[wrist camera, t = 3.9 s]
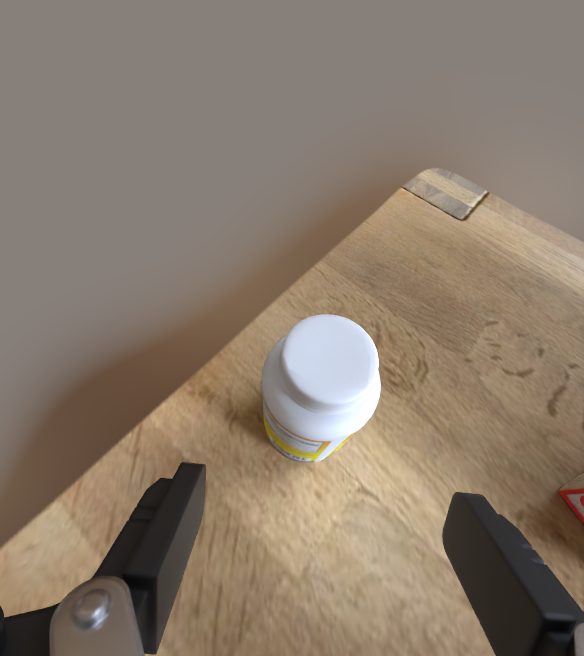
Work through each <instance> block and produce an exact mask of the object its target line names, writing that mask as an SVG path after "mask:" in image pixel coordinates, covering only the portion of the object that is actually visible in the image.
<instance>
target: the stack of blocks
mask: <svg viewBox="0 0 584 656" xmlns="http://www.w3.org/2000/svg"><path fill="white" fill-rule="evenodd" d="M559 493H560V494H561V495H562V497H563V498H564V499H565V501H566V502H567V503H568V505H569V506H570V507H571V509H572V510H573V511H574V512H575V514H576V515H577V516H578V518H579V519H580V520H581V522H582V523H583V524H584V472H583V473H582V474H580V475H579V476H577V477H576V478H574V479H573V480H571V481H570V482H568V483H567V484H565V485H564V486H563V487H561V488H560V489H559Z"/></svg>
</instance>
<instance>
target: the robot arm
mask: <svg viewBox="0 0 584 656" xmlns="http://www.w3.org/2000/svg"><path fill="white" fill-rule="evenodd" d="M205 481H206V465H205V464H196V463H187V462H182V463H181V464H180V465H179V467H178V469H177V471H176V473H175V475H174V477H173V479H167V478H160V479H159V480H158V481H156V482H155V483H154V484H153V485H151V486H150V487H149V488H148V489H147V490H146V491H145V493H144V494H143V496H142V498H141V499H140V501H139V503H138V504H137V507H136V508H135V509H134V511H133V512H132V514H131V516H130V518H129V521H127V522H126V524H125V526H124V527H123V529H122V531H121V532H120V534H119V535H118V537H117V539H116V540H115V542H114V544H113V545H112V547H111V549H110V550H109V552H108V553H107V555H106V557H105V558H104V560H103V562H102V563H101V565H100V567H99V568H98V570H97V572H96V573H95V574H94V576H93V577H92V578H91V579H90V580H88V581H86V582H84V583H82V584H81V585H79V586H78V587H76V588H75V589H74V590H72V591H71V592H70V593H69V594H68V595H67V596H66V597H65V598H64V599H63V600H62V602H60V603H58V604H56V605H53V606H50V607H47V608H43V609H39V610H35V611H31V612H26V613H22V614H18V615H14V616H9V617H5V618H4V613H3V610H2V608H1V606H0V656H145V654H155V655H156V653H157V650H158V647H159V645H160V642H161V639H162V636H163V633H164V630H165V627H166V624H167V621H168V618H169V615H170V612H171V609H172V606H173V603H174V600H175V598H176V595H177V592H178V589H179V586H180V583H181V580H182V577H183V574H184V571H185V568H186V565H187V562H188V559H189V556H190V554H191V551H192V548H193V545H194V542H195V539H196V536H197V533H198V530H199V527H200V524H201V520H202V515H203V510H204V499H205ZM442 537H443V545H444V549H445V552H446V554H447V556H448V558H449V560H450V562H451V564H452V566H453V568H454V571H455V573H456V575H457V577H458V579H459V581H460V583H461V585H462V587H463V589H464V591H465V593H466V595H467V597H468V599H469V601H470V603H471V605H472V608H473V610H474V612H475V614H476V616H477V618H478V620H479V622H480V624H481V626H482V628H483V630H484V632H485V634H486V636H487V638H488V640H489V642H490V645H491V647H492V649H493V651H494V653H495V655H496V656H584V612H583V611H582V610H581V608H580V607H579V606H578V604H577V603H576V602H575V601H574V599H573V598H572V597H571V596H570V594H569V593H568V592H567V590H566V589H565V588H564V587H563V585H562V584H561V583H560V581H559V580H558V579H557V578H556V576H555V575H554V574H553V573H552V571H551V570H550V569H549V567H548V566H547V565H544V562H543V560H542V558H541V557H540V556H539V555H538V553H537V552H536V551H535V550H533V549H532V546H531V544H530V543H529V542H528V541H527V539H526V538H525V537H524V535H523V534H522V533H521V532H520V530H519V529H518V528H516V527H515V526H514V525H513V524H512V523H511V522H509V521H508V520H507V519H506V518H505V517H503V516H502V515H501V514H497V513H496V511H495V510H494V509H493V507H492V506H491V505H490V503H489V502H488V501H487V499H486V498H485V497H484V496H483V495H480V494H472V493H462V492H456V493H454V495H453V497H452V500H451V504H450V507H449V510H448V514H447V517H446V521H445V524H444V528H443V535H442Z"/></svg>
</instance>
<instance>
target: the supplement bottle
mask: <svg viewBox="0 0 584 656" xmlns="http://www.w3.org/2000/svg"><path fill="white" fill-rule="evenodd" d="M378 365H379V361H378V353H377V350H376V347H375V345H374V343H373V341H372V339H371V338H370V336H369V335H368V334H367V333H366V332H365V330H364V329H363V328H361V327H360V326H359V325H358V324H356V323H355V322H353V321H351V320H349V319H347V318H344V317H341V316H338V315H332V314H320V315H314V316H310V317H308V318H305V319H303V320H301V321H300V322H298V323H297V324H296V325H295V326H294V327H293V328H291V330H290V331H289V332H288V334H286V335H285V336H283V337H282V338H281V339H280V340H279V341H278V342H277V343H276V344H275V345H274V346H273V347H272V349H271V350H270V352H269V353H268V355H267V358H266V360H265V363H264V366H263V371H262V398H263V399H262V400H263V419H264V427H265V431H266V434H267V436H268V438H269V440H270V442H271V444H272V445H273V446H274V447H275V449H276V450H277V451H278V452H279V453H281V454H282V455H284V456H285V457H287V458H289V459H291V460H294V461H297V462H303V463H311V462H317V461H320V460H323V459H325V458H327V457H329V456H330V455H332V454H333V453H334V452H335V451H336V450H338V449H339V448H340V447H341V446H342V445H343V444H344V443H345V442H346V441H347V440H348V439H349V438H350V437H352V436H353V435H354V434H355V433H356V432H357V431H358V430H359V429H360V428H361V427H362V426H363V425H364V424H365V423H366V422H367V421H368V420H369V418H370V417H371V416H372V414H373V412H374V411H375V409H376V406H377V404H378V401H379V396H380V389H381V386H380V376H379V371H378Z"/></svg>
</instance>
